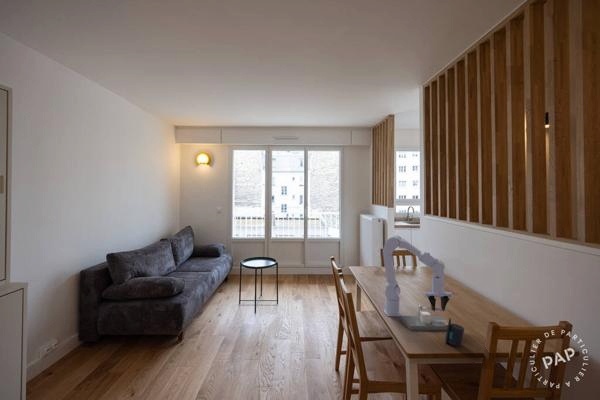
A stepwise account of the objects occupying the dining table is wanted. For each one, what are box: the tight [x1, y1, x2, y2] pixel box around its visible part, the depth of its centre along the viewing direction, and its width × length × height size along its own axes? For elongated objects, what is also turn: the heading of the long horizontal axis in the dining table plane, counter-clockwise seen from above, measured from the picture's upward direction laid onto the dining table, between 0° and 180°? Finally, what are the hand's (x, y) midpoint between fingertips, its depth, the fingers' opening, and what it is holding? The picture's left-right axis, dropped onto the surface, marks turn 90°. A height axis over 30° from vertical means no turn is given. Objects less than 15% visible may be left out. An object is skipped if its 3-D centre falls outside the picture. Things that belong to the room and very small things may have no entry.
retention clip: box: [417, 304, 443, 317], centre depth 161 cm, size 12×2×6 cm, turn 74°
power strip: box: [400, 315, 449, 331], centre depth 157 cm, size 13×22×3 cm, turn 91°
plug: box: [420, 311, 432, 324], centre depth 156 cm, size 4×4×6 cm
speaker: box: [445, 317, 465, 348], centre depth 137 cm, size 8×6×10 cm
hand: (438, 310), depth 158 cm, fingers open, 4 cm apart
